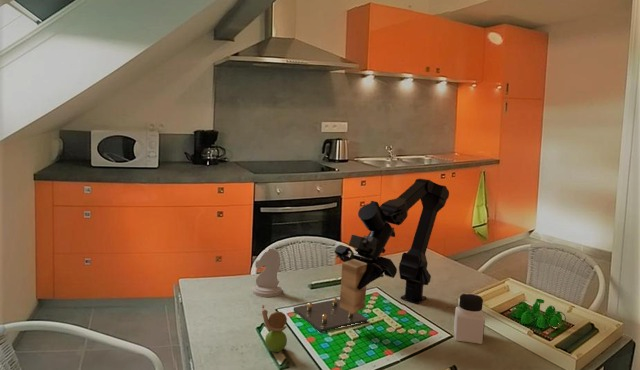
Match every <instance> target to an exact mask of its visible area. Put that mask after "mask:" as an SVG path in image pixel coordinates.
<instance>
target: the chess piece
mask: <svg viewBox="0 0 640 370" xmlns="http://www.w3.org/2000/svg"><path fill="white" fill-rule="evenodd" d="M254 265H255V268H257V270H261V268H262V267H265V268H264V269H263V270H262V271H261V272H260V273H259V274H258V276H257V277H256V279H255V283H256V284H255V285H254V286H253V287H252V289H251V290H252V291H251V292H252V294H253V295H255V296H257V297H261V298H272V297H276V296H279V295H281V294H282V292H283V289H282V287H281V285H280V284H279V283H280V281H279V280H278V271H279V269H280V266H281V256H280V253H279V251H278V250H277V249H276V248H274V247H269V248H268V250H266V251H264V253H263V254H262V255H261V257H260V259H258V260H256V261H255V264H254Z"/></svg>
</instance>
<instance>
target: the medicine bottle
mask: <svg viewBox="0 0 640 370" xmlns="http://www.w3.org/2000/svg"><path fill="white" fill-rule="evenodd" d="M483 304H484V300H483V297H481V296H480V295H478V294H476V293H473V292H472V293H471V292H466V293H462V294H461V295H460V296H459V304H458V305H459V306H456V307H455V310H454V312H455V313H454V322H453V323H454V324H453V332H454V340H455V341H456V342H457V341H458V342H464V343H471V344H479V345H482V344H483V342H484V334H485V323H486V319H485V316H484V312H483Z"/></svg>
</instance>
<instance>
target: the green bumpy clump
mask: <svg viewBox="0 0 640 370" xmlns="http://www.w3.org/2000/svg"><path fill="white" fill-rule="evenodd" d="M544 303H545V300H544V299H542V298H536V299H535V301H534V303H533V304H532V307H531V309H530V306H529V304H528V303H527V302H525V301H519V302H518V304H517V305H515V306H513V308H512V309H511V315H512V317H514V316H515V317H516V319H520V318H521V319H520V323H521V324H522V325H523V324H524V325H530V324H531V322H532V320H533V318H537V320H536V327H537V326H538V327H541V328H543V327H544V328H545V326H546V322H547V325H548V324H550V326H553V327H558V328H560V329H561V328H562V325H561V323H564V324H565V323H566V321H567V317H566V315H565V313H563V312H562V311H560V310H559V311H558V310H556V308H555V306H553V305H548V306H547V308H545V311H544V313H540V311H541V305H542V304H544ZM515 308H516V309H515ZM514 310H515V312H513V311H514ZM514 313H515V315H514ZM562 315H563V316H564V320H563V316H562ZM547 318H548V319H547ZM546 320H547V321H546ZM562 321H563V322H562ZM558 323H559V324H560V325H559V324H558Z"/></svg>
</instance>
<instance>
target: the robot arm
mask: <svg viewBox="0 0 640 370" xmlns="http://www.w3.org/2000/svg"><path fill="white" fill-rule="evenodd" d="M449 196H450V191H449V189H448V187H447V185H442V184H438V183H436V182H433V181H432V180H431V179H425V178H416V179H415V181H414V183H413V184H411V185H410V186H409V187H408V188H407V189H406V190H405V191H404V192H402V193H401V194H400V195H399V196H398V197H396V198H392V199H389V200H386V201H384V202H383V203H382V204H381V205H380V204H379V202H378V201H374V200H371V201H370V203H367V204H364V205H362V206H361V207H360V208H359V210H358V218H359V219H360V221H361V223H362V224H363V225H364V227H365V228H366V229H367V231H369V233H368V235H367V236H366V235H364V236H359V235H356V234H351V236H350V240H349V242H348V246H346V245H342V244H339V245H337V246H336V248H335V250H334V253H335V254H336V255H337V256H338V258H339V259H340V261H341V262H342V263H343V262H346V261H349V260H352V259H356V260H358V261H361V262H364V263H367V269H366V272H365V273H364V275H363V277H362V279H361V280H360V282H359V284H358V287H357V288H358V290H360V289H362V288H363V287H365V286H366V287H367V286H368V285H369V284H370V283H372V282H374V281H376V280H377V279H379V278H384V276H386V277H389V278H391V279H394V278H395V276H396V275H397V273H398V272H399V278H400V279H401V280H404V281H405V287H404V288H405V289H404V290H405V292H404V294H403V295H401V296H400V299H402V300H404V301H408V302H411V303H414V304H420V303H421V302H423V301H425V300H427V297H428V296H426V295H424V286H428V285H429V284H430V282H431V278H432V276H431V274H430V272H429V270H428V269H427V268H428V260H427V257H426V252H427V249H428V247H429V246H428V245H429V242H430V239H431V237H432V233H433V228H434V226H435V222H436V218H437V214H438V212H439V211H441V210H442V209H443V208H444V207H445V206H446V203H447V200H448V199H449ZM419 201H420V202H421V205H422V210H421V213H420V216H419V219H418V223H417V226H416V230H415V232H414V237H413V240H412V244H411V246H410V249H409V250H408V251H407V252H404V251H403V253H402V255H401V259H400V261H399V265H398V268H397V266H396V265H395V263H394V261H393V260H392V259H390V258H388V257H387V258H386V257H384V256H382V255H381V254H385V253H386V249H385V246H386V245H387V243H388V242H389V240H390V237H393V238H396V232H395V227H392V226H391V225H394V226H395V225H396V226H400V225H402V224H403V223H404V221H406V219H407V218H408V216H409V214H408V213H409V210H410V209H411V208H412V207H414V206H415V204H417V203H418V202H419ZM349 246H350V247H353V248H354V251H355V252H356V253H354V251H353V250H352V249H351V248H350V247H349Z"/></svg>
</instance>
